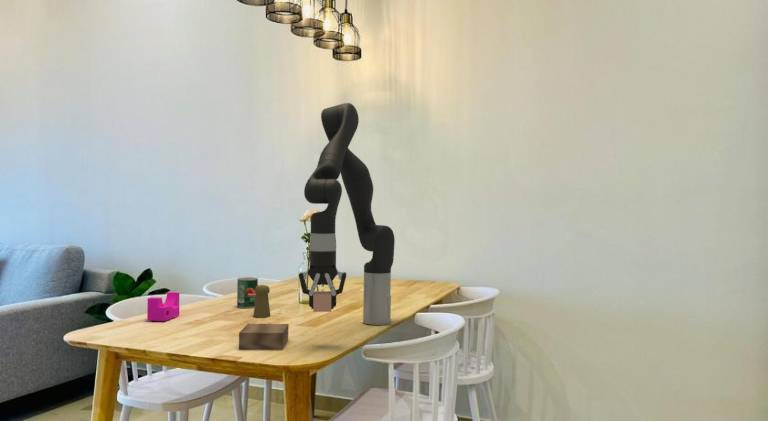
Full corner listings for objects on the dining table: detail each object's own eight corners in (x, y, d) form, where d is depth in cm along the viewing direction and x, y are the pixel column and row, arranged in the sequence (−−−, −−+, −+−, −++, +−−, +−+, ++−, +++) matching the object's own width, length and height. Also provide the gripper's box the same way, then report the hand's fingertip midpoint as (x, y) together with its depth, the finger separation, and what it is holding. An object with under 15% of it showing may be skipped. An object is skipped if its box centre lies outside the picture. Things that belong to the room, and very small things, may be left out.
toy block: (164, 321, 190) (164, 299, 190) (147, 320, 190) (147, 298, 190) (185, 312, 205) (185, 292, 205) (169, 312, 205) (169, 292, 205)
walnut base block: (288, 340, 165) (288, 324, 165) (282, 351, 153) (283, 332, 153) (247, 340, 165) (247, 323, 165) (238, 350, 153) (239, 332, 153)
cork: (249, 316, 199) (250, 285, 199) (259, 313, 205) (260, 283, 204) (264, 318, 197) (264, 287, 197) (273, 315, 202) (274, 284, 202)
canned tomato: (241, 304, 224) (241, 277, 224) (260, 305, 223) (260, 277, 223) (233, 307, 216) (234, 279, 216) (253, 308, 215) (254, 280, 215)
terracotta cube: (331, 308, 161) (331, 291, 161) (331, 311, 156) (331, 293, 156) (314, 308, 161) (314, 291, 161) (313, 311, 156) (313, 294, 156)
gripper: (348, 248, 163) (347, 306, 163) (298, 248, 162) (298, 306, 162) (348, 250, 155) (347, 311, 155) (296, 250, 154) (296, 311, 155)
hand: (322, 308), depth 159 cm, fingers closed on terracotta cube, 5 cm apart
